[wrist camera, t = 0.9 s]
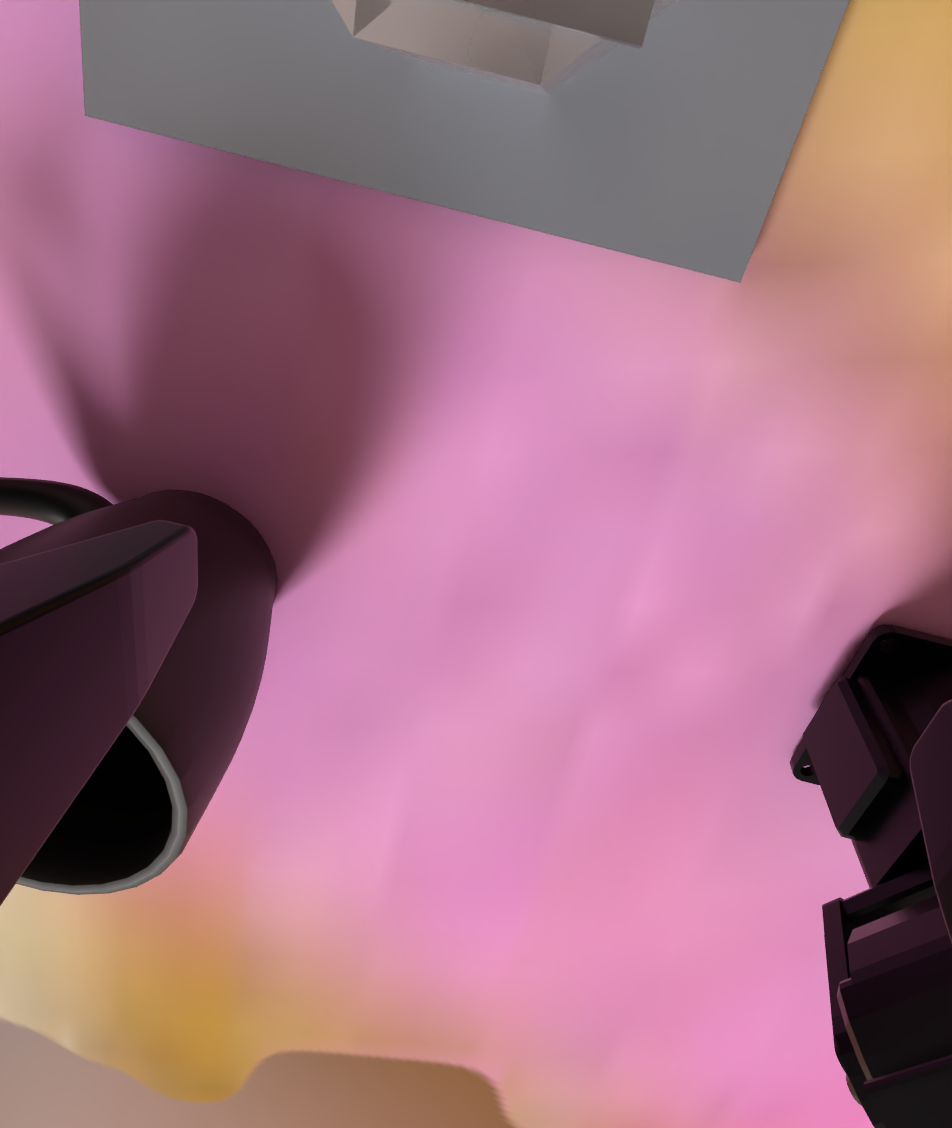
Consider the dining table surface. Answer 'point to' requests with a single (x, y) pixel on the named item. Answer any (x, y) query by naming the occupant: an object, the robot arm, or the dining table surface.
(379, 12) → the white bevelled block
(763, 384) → the dining table surface
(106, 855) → the mug
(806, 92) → the slate board
